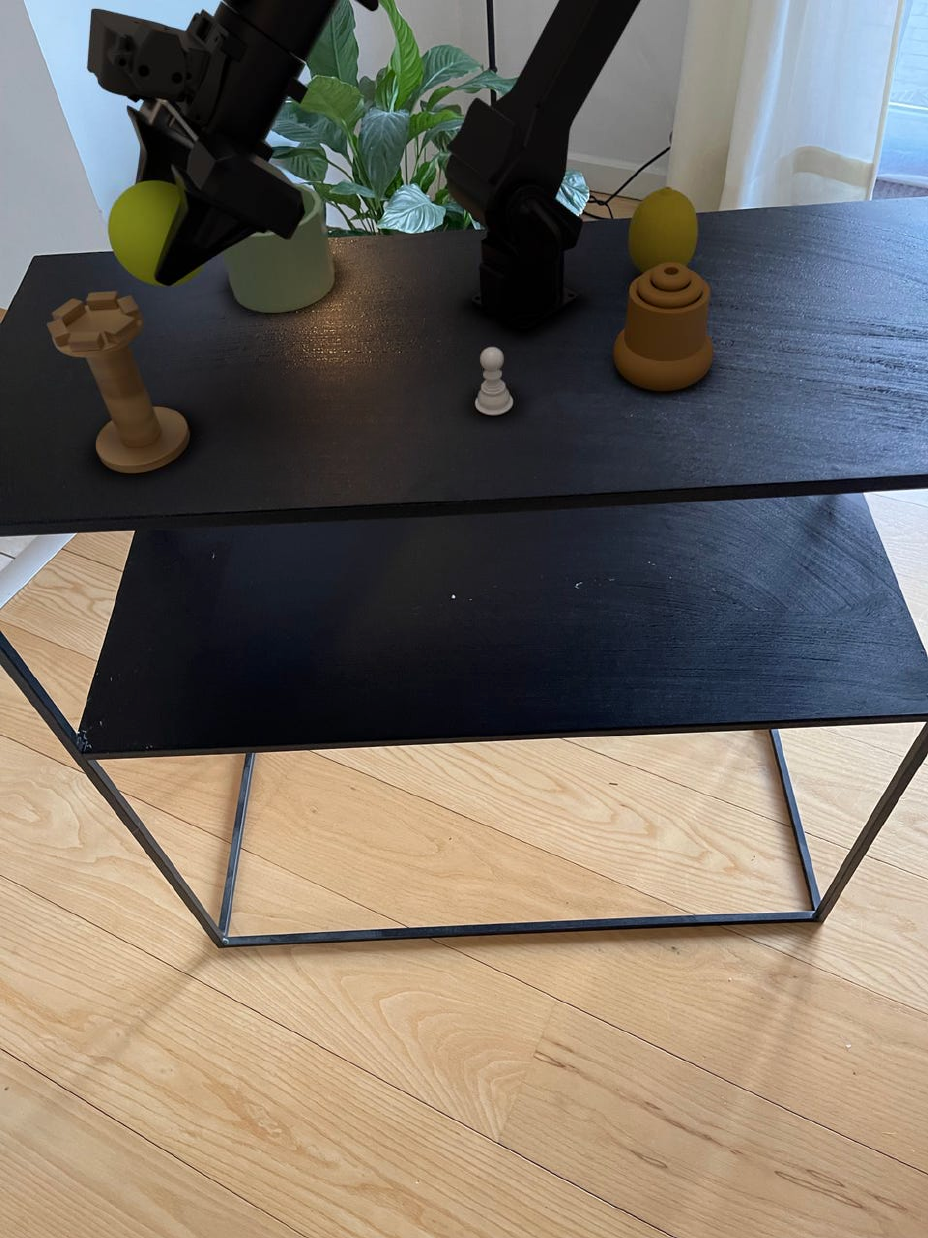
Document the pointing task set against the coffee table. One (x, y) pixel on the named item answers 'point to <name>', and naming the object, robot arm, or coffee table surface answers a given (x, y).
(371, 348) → the coffee table surface
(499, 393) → the chess pawn
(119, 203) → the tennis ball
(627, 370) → the ornamental finial
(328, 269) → the cup
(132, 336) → the chess rook
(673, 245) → the lemon
